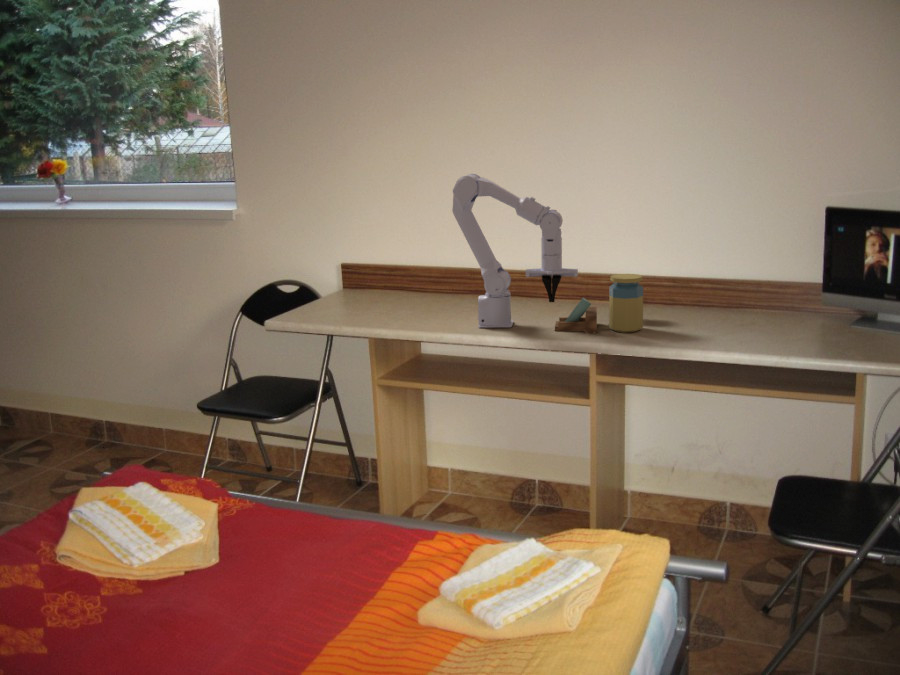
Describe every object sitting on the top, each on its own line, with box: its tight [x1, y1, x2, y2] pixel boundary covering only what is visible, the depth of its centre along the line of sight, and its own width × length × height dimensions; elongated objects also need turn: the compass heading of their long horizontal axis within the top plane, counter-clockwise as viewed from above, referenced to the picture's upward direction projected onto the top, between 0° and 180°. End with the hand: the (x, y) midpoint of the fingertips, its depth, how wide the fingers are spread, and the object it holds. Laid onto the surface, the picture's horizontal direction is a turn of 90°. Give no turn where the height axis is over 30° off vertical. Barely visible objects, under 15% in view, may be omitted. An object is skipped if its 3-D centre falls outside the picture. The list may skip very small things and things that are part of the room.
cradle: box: [554, 306, 598, 334], centre depth 262 cm, size 12×12×5 cm
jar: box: [608, 273, 644, 334], centre depth 257 cm, size 9×9×15 cm
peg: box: [565, 297, 592, 322], centre depth 262 cm, size 3×3×8 cm
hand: (551, 301), depth 265 cm, fingers closed
